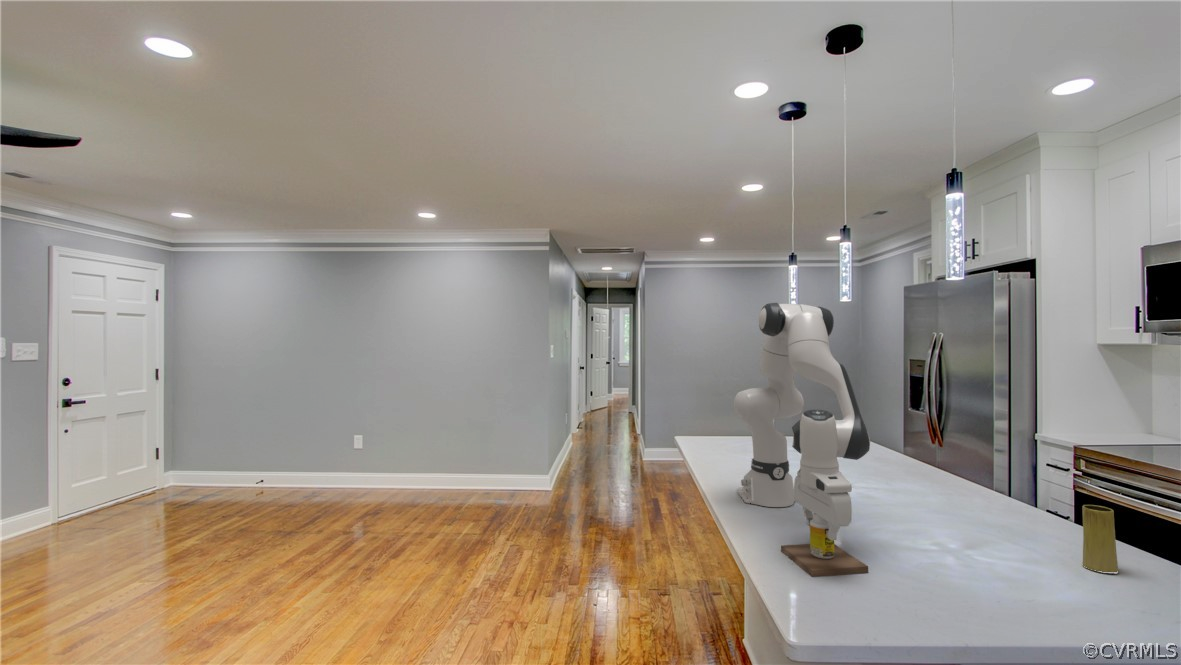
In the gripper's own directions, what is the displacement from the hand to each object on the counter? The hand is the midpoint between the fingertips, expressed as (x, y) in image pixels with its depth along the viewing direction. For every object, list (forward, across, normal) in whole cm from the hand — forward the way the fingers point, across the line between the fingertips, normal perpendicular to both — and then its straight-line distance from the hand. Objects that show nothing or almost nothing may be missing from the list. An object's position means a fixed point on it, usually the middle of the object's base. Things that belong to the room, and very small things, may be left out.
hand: (820, 532), depth 128 cm
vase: (+7, +14, +61) cm, 63 cm away
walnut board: (+7, 0, 0) cm, 7 cm away
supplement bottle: (+6, 0, 0) cm, 6 cm away
